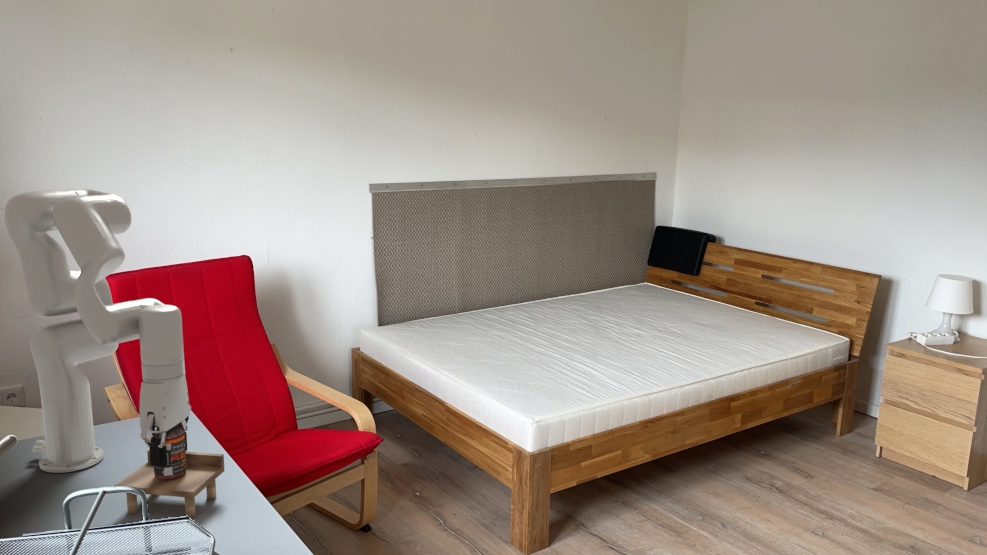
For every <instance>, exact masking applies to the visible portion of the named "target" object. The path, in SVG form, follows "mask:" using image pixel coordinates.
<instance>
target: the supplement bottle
mask: <svg viewBox="0 0 987 555" xmlns="http://www.w3.org/2000/svg"><path fill="white" fill-rule="evenodd" d="M155 430H159V427H155ZM159 436H160V434H157V433H155V436H154V437H156V438H157V439H158V440H159ZM164 446H166V448H167V463H168V464H167V466H165V467H161V466H154V475H155V477H156V478H158V479H162V480H171V479H176V478H179V477H181V476H183V475H184V474H185V473H186V471H187V465H186V452H187V451H186V450H185V434H184V430H183V429H182V428H180V427H179V423H178V424H177V425H175V426H174V427H172V428H171V429H169V430H168V431H166V436H165V442H164Z"/></svg>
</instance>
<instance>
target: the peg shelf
mask: <svg viewBox="0 0 987 555" xmlns="http://www.w3.org/2000/svg"><path fill="white" fill-rule="evenodd" d="M146 452H147V462H146V463H144V464H143V465H141V466H140V467H139V468H138V469H136V470H135V471H132V472H131V473H130V474H129V475H128V476H126V477H124V478H123V479H121V481H119V482H118V483H116V484H115V485H114V487H115V486H133V487H137V488H139V489H141V490H143V491H144V492H145V494H144V495H152V496H165V497H178V498H184V509H185V510H184V512H185V516H186V515H188V516H189V517H190V518H192V519H195V518H196V516H197V515H196V514H197V513H196V497H197V496H198V495H199V494H200V493H201V492H202V491H203V490H205V488H206V491H205V492H206V499H207V500H209V501H210V500H211V501H212V500H215V499H216V498H217V485H216V481H217V480H216V479H217V478H218V477H220V475H222V474H223V473H224V472H225V456H224V455H225V454H223V453H210V452H196V451H186V465H187V471H186V473H185V474H184V475H183V476H181V477H179V478H176V479H171V480H162V479H158V478H156V477H155V475H154V466H152V465H151V464H150V450H149V449H148V450H147V451H146ZM125 495H126V509H127V514H128V515H133V514H137V513H138V512H139V508H138V507H139V506H138V505H139V504H138V494H137V495H135V494H132V493H126V492H125ZM192 519H191V520H192Z"/></svg>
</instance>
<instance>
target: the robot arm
mask: <svg viewBox="0 0 987 555" xmlns="http://www.w3.org/2000/svg"><path fill="white" fill-rule="evenodd" d="M4 224H5V227H6V230H7V233H8V235H9V237H10V240H11V242H12V243H13V245H14V247H15V249H16V252H17V253H18V255H19V259H20V265H21V269H22V274H23V279H24V284H25V288H26V292H27V297H28V302H29V304H30V308H31V310H32V312H33V313H34V314H35V315H36V316H37V317H39V318H56V317H63V316H67V315H73V314H78V315H79V318H77V319H71V320H67V321H66V320H65V321H60V322H56V323H51V324H48V325H45V326H43V327H40V328H38V329H37V330H35V332H33V334H32V335H31V338H30V340H29V345H30V346H29V347H30V348H29V349H30V351H31V352H30V353H31V356H32V358H33V363H34V366H35V369H36V374H37V379H38V383H39V384H38V385H39V394H40V401H41V413H42V424H43V433H44V439H43V440H40V439H37V440H36V441H35V442H34V443H33V444H34V445H33V447H32V448H31V452H32V453H38V454H39V453H41V456H42V457H41V458H40V459H39V461H38V465H39V469H40V470H42V471H43V472H46V473H52V474H54V473H55V474H56V473H57V474H62V473H63V474H64V473H70V472H71V473H72V472H76V471H77V472H78V471H80V470H84V469H87V468H90V467H92V466H94V465H97V464H98V463H100V461H102V460H103V459H104V450H103V449H102V448H101V447H98V446H96V443H95V439H96V438H95V430H94V429H95V428H94V418H93V417H94V416H93V407H92V405H93V404H92V394H91V385H90V382H89V379H88V377H87V376H86V375H85V374H84V373H83V372H82V371H81V370H79V369H78V365H79V364H82V363H85V362H90V361H94V360H98V359H102V358H104V357H109V356H111V355H112V354H115V352H116V351H117V349H118V348H119V344H121V343H126V342H130V341H135V340H139V345H140V359H141V362H140V363H141V373H142V374H141V375H142V380H143V381H142V382H141V385H140V391H139V392H140V393H139V426H140V431H141V433H140V438H141V439H142V440H143V441H144V443H145V444H146V446H147V447H148V448H149V449H148V450H150V464H151V465H152V466H161V467H165V466H167V464H168V463H167V448H166V446H164V442H165V436H166V431H168V430H169V429H171V428H172V427H174V426H175V425H177V424H178V423H179V427H180V428H182V429H183V430H184V434H185V450H186V452H188V439H187V438H188V436H187V431H188V429H189V428H188V421H189V415H190V413H191V410H192V405H190V401H189V400H190V399H189V391H188V385H187V384H188V383H187V379H186V369H185V368H186V367H185V365H186V364H185V352H184V351H185V350H184V335H183V333H184V332H183V317H182V316H183V315H182V312H181V309H180V308H179V307H177V306H176V305H172V304H165V303H163V302H161V301H160V300H158V299H156V298H154V297H153V298H151V297H149V298H148V297H147V298H146V297H145V298H140V299H135V300H128V301H122V302H117V303H113V297H112V292H111V289H110V285H109V283H108V280H107V279H106V277H108V276H109V275H111V274H112V273H114V272H115V271H117V270H118V269H119V268H120V267H121V266H122V264H123V263H124V261H125V258H126V254H125V251H124V249H123V247H122V246H121V245H120V243H119V241H118V239H117V238H116V236H115V235H119V234H124V233H126V232H127V231H128V230H129V228H130V227H131V224H132V214H131V210H130V208H129V205H128V204H127V203H126V202H125V200H123V199H122V198H121V197H120V196H118V195H116V194H113V193H109V192H104V191H98V190H95V189H90V188H88V189H87V188H72V189H71V188H69V189H50V190H48V189H47V190H46V189H45V190H35V191H34V190H33V191H26V192H21V193H18V194H16V195H14V196H12V197H11V198H10V199H9V200H8V201H7V202H6V204H5V209H4ZM51 231H58V232H59V234H60V236H61V237H62V240H63V241H64V243H65V244H66V246H67V248H68V250H69V251H70V253H71V255H72V257H73V258H74V260H75V262H76V263H77V265H78V267H79V268H78V269H70V268H69V264H68V260H67V254H66V251H65V248H64V247H63V245H62V244H61V243H60V242H59V241H58V240H57V239H56V238H55V237H53V236H52V235H51V234H50V233H48V232H51ZM156 427H159V430H156ZM155 433H157V434H160V436H159V440H158V439H157V438H156V437H154V436H155Z"/></svg>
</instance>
